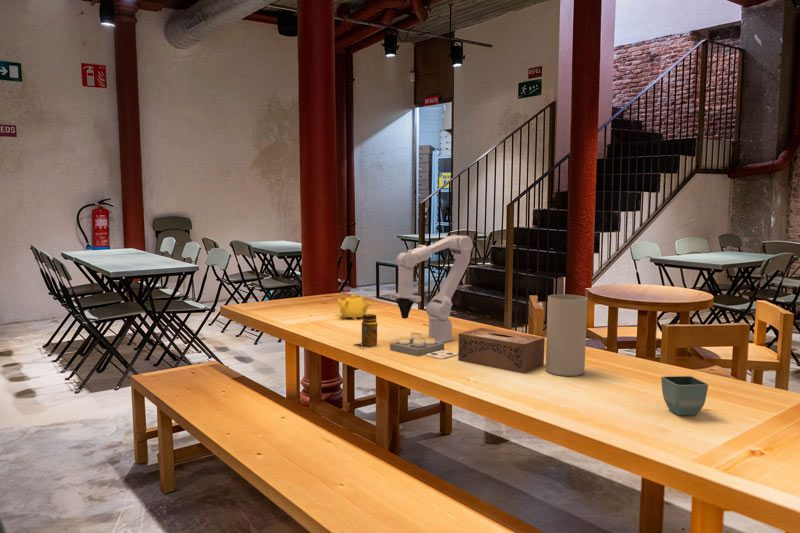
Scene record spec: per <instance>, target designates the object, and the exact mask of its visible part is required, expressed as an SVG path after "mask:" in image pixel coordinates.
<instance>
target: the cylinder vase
mask: <svg viewBox="0 0 800 533" xmlns="http://www.w3.org/2000/svg"><path fill="white" fill-rule="evenodd" d="M546 315H547V320H546V344H545V345H546V347H545V350H546V351H545V371H547V373H549V374H552V375H556V376H561V377H576V376H578V377H579V376H582V375H583V374H585V368H586V367H585V366H586V346H587V344H586V343H587V342H586V340H587V321H588V320H587V319H588V316H587V315H588V297H586V296H583V295H576V294H550V295H548V296H547V314H546ZM581 374H582V375H581Z"/></svg>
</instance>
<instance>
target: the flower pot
mask: <svg viewBox="0 0 800 533" xmlns="http://www.w3.org/2000/svg"><path fill="white" fill-rule="evenodd" d="M660 379H661V391H662V398H663V400H664V402H665V405H666V407H667V408H668V410H669V411H671V412H672V413H674V414H675V413H676V414H675V415H677V416H679V415H681V416H697V415H698V414H699V412H700V411H701V410H702V409H703V407H704V405H705V402H706V400H707V399H706V398H707V394H708V389H709V383H707V382H704V381H702V380H701V379H698V378H696V377H694V376H692V375H681V376H679V375H678V376H677V375H675V376H672V375H670V376H669V375H668V376H666V375H665V376H661V377H660Z"/></svg>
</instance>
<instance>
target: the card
mask: <svg viewBox="0 0 800 533" xmlns="http://www.w3.org/2000/svg"><path fill="white" fill-rule="evenodd" d="M424 356H425V357H430V358H435V359H439V360H446V359H449V358H451V357H456V356H458V352H453V351H449V350H445V349H444V350H440V351H436V352H433V353H429V354H425V355H424Z"/></svg>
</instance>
